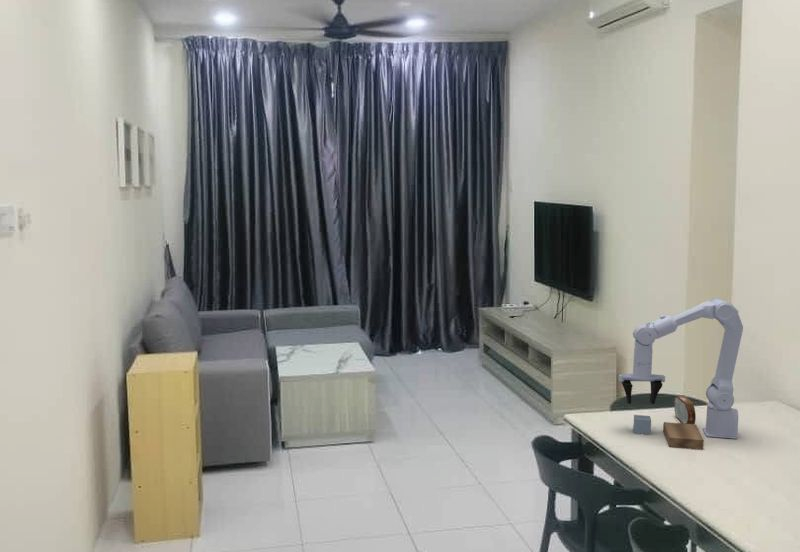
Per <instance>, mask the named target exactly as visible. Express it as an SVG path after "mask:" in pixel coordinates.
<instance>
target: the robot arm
mask: <svg viewBox="0 0 800 552" xmlns="http://www.w3.org/2000/svg"><path fill="white" fill-rule="evenodd" d="M701 318H704V319H710V320H714V319H715V320H717V321H718V322H719V324H720V325H721V327H723V329H724V332H723V338H722V342H721V346H720V351H719V355H718V360H717V365H716V370H715V375H714V376H713V377H712V379H711V381H710V385H709V386H708V387H707V388H706V390H705V397H706V398H707V400H708V403H707V406H706V420H705V427H702V431H703V432H704V434H705V436H706V437H708V438H709V437H710V438H723V439H724V438H725V439H734V440H735V439H737V440H738V432H739V411H738V409H737V408H733V405H734V403H735V398H734V384H733V378H734V373H735V370H736V369H735V367H736V364H737V358H738V354H739V349H740V345H741V341H742V340H741V339H742V335H743V332H744V325H743V322H742V319H741V318H740V314H739V310H738V309H737V308H736V307H735V306H734V305H733V304H732V303H730V302H728V301H725V300H724V299H722V298H720V297H715V298H712V299H710V300H705V301H704V302H702V303H700V304H698V305H695V306H694V307H691V308H689V309H687V310H685V311H683V312H681V313H678V314H676V315H674V316H672V315H669V314H667V315H664V314H662V315H659V318H658V319H655V320H653V321H651V322H650V321H647V322H645V324H639V325H636V327H635V328H634V330H633V332H632V337H633V339H635V340H634V347H633V349H634V350H633V366H632V367H633V368H632V373H626V374H625V373H623V374H618V381H619V382H621V384H622V387H623V390H624V392H625V397H626V398H625V399H626V403H627V404H628V405H629V404H632V392H633V387H634V386H633V384H632V382H649V383H650V397H649V398H650V399H649V402H650V403H651V404H652V405H654V404H656V403H655V402H656V399H657V396H658V394H659V392H660V390H661V389H662V387H663V383H665V382H666V375H664V374H652V368H653V367H652V366H653V344H654V343H655V341H656V340H658V339H661V338H663V337H665V336H668V335H669V334H674V333H675V332H676V331H677V330H678V327H680V326H682V325H685V324H687V323H691V322H693V321H695V320H698V319H701Z"/></svg>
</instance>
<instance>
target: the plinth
mask: <svg viewBox="0 0 800 552" xmlns="http://www.w3.org/2000/svg"><path fill="white" fill-rule="evenodd" d="M662 432H663V434H664V438H665V440H666V443H667V445H668V447H669V448H676V449H677V448H678V449H679V448H680V449H689V448H691V449H690V450H702V449H703V450H704V438H703V436H702V434H701V432H700V430H699V428H698V426H697V424H696V423H695V424H683V423H682V422H681V423H680V422H668V421H667V422H666V421H664V422H663V429H662Z"/></svg>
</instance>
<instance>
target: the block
mask: <svg viewBox="0 0 800 552" xmlns="http://www.w3.org/2000/svg"><path fill="white" fill-rule="evenodd" d="M632 427H633V429H632V430H633V434H634V435H641V434H643V435H644V436H651V435H652V433H651V432H652V431H651V429H652V417H651V416H650V415H642V414H641V415H640V414H633V426H632Z"/></svg>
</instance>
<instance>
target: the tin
mask: <svg viewBox="0 0 800 552" xmlns="http://www.w3.org/2000/svg"><path fill="white" fill-rule="evenodd" d="M695 409H696V408H695V405H694V403H693V401H691V400H690V399H689V398H688V397H687V396H686V395H684V394H682V395H675V397H674V410H673V411H674V414H675V417H676V418H677V420H678V421H680V422H681V423H683V424H696V419H697V418H696V410H695Z"/></svg>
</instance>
